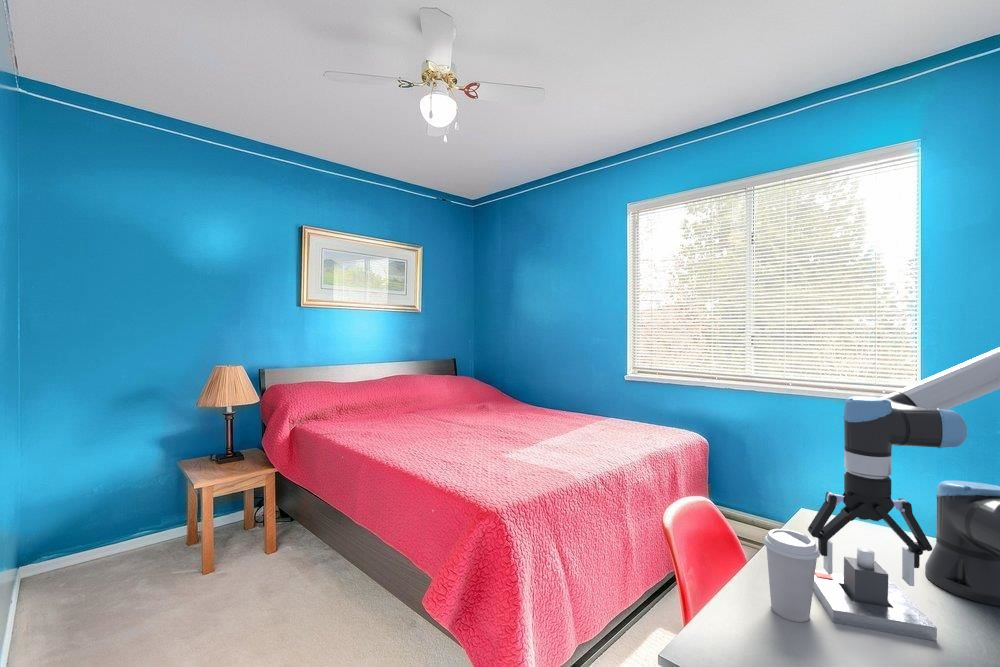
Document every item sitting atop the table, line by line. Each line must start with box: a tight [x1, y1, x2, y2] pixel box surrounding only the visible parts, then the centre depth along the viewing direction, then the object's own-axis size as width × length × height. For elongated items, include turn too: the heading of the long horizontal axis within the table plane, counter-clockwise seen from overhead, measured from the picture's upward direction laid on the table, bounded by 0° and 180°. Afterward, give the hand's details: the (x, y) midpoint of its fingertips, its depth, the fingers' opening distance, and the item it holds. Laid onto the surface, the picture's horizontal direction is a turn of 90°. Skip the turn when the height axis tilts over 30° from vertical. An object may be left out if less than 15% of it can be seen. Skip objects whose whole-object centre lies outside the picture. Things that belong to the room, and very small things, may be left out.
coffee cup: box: [763, 528, 821, 623], centre depth 91 cm, size 10×10×15 cm
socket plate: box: [813, 569, 938, 642], centre depth 93 cm, size 16×16×3 cm
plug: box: [843, 546, 889, 607], centre depth 93 cm, size 6×6×11 cm
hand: (867, 576), depth 93 cm, fingers open, 13 cm apart
